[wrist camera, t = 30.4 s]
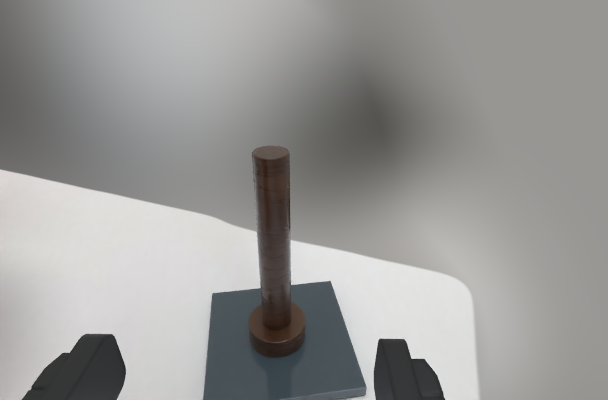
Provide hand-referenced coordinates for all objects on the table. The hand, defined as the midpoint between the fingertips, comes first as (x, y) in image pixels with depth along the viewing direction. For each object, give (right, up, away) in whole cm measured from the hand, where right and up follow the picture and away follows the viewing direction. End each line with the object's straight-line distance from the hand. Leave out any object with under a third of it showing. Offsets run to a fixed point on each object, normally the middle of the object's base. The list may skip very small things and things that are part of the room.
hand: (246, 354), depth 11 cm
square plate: (0, -6, +15) cm, 16 cm away
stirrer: (0, -5, +15) cm, 16 cm away
